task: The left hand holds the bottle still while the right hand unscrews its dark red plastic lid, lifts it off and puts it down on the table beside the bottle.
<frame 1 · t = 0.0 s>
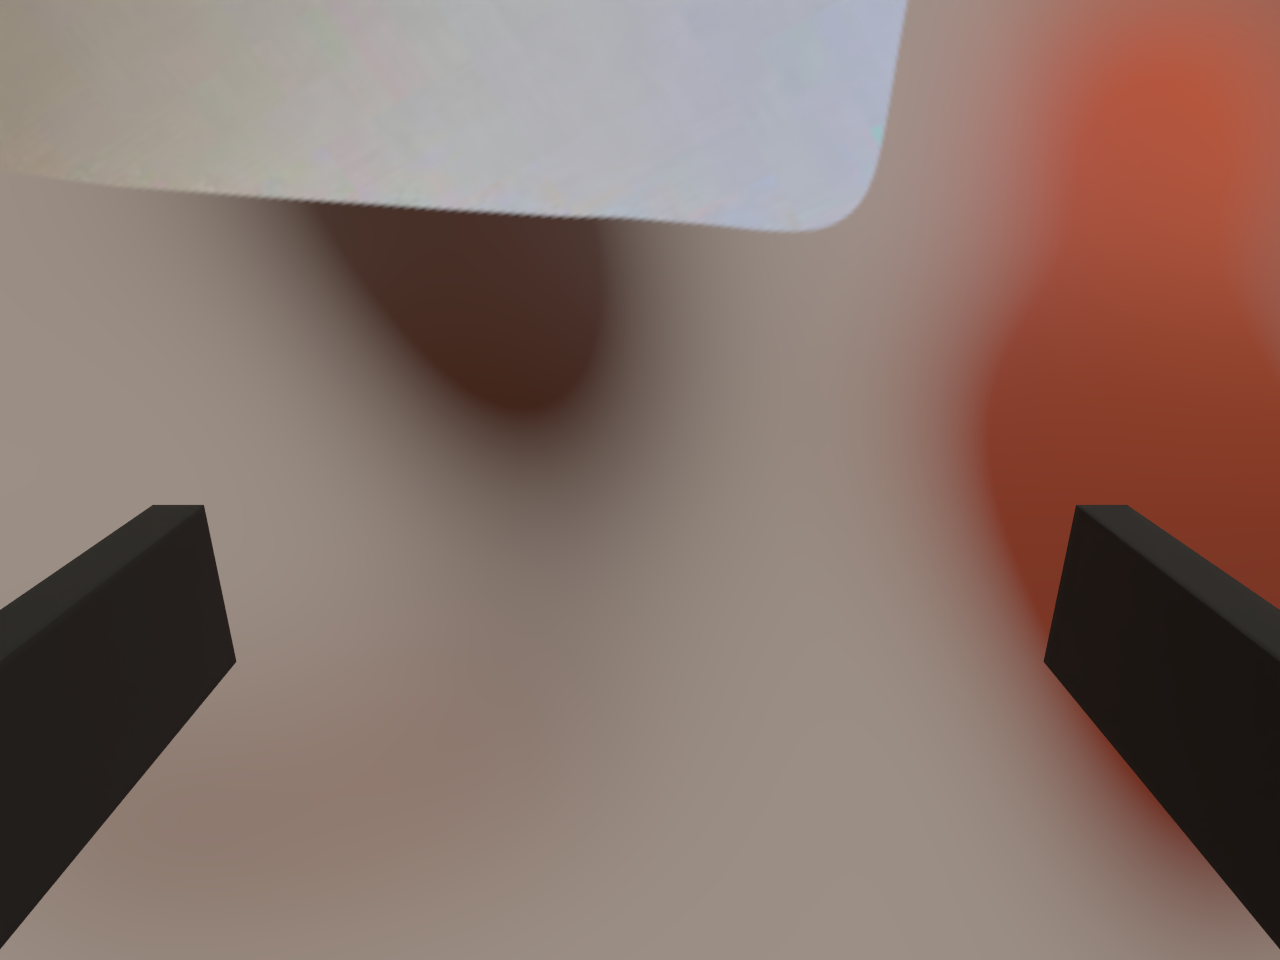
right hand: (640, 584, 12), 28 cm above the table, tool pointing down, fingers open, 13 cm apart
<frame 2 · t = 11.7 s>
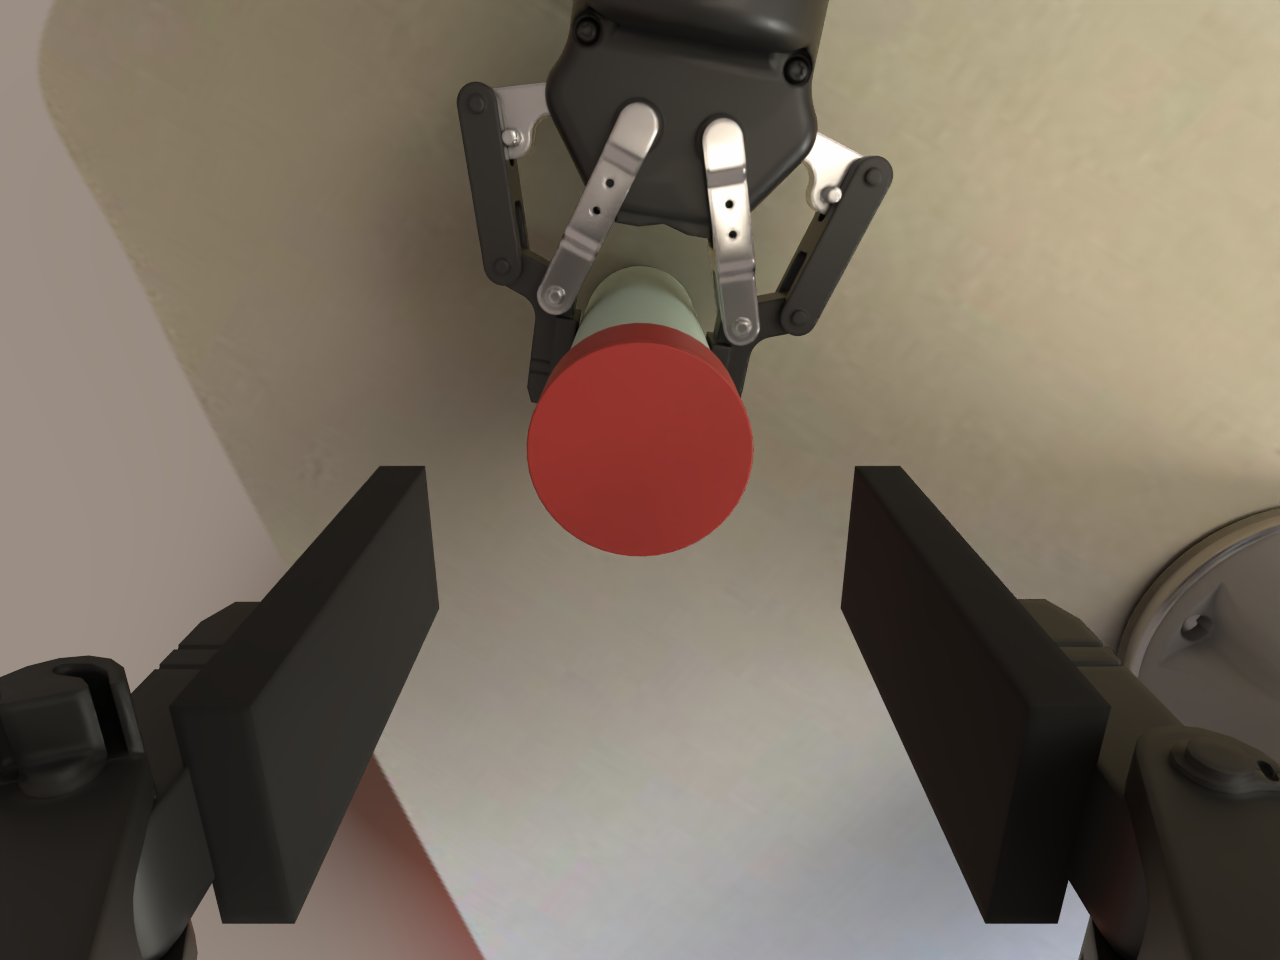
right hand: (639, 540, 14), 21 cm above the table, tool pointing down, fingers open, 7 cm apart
left hand: (628, 426, 29), fingers closed on bottle, 4 cm apart
bottle: (640, 321, 34), on the table, touching left hand
lid: (640, 449, 19), point 17 cm above the table, screwed on, not yet turned
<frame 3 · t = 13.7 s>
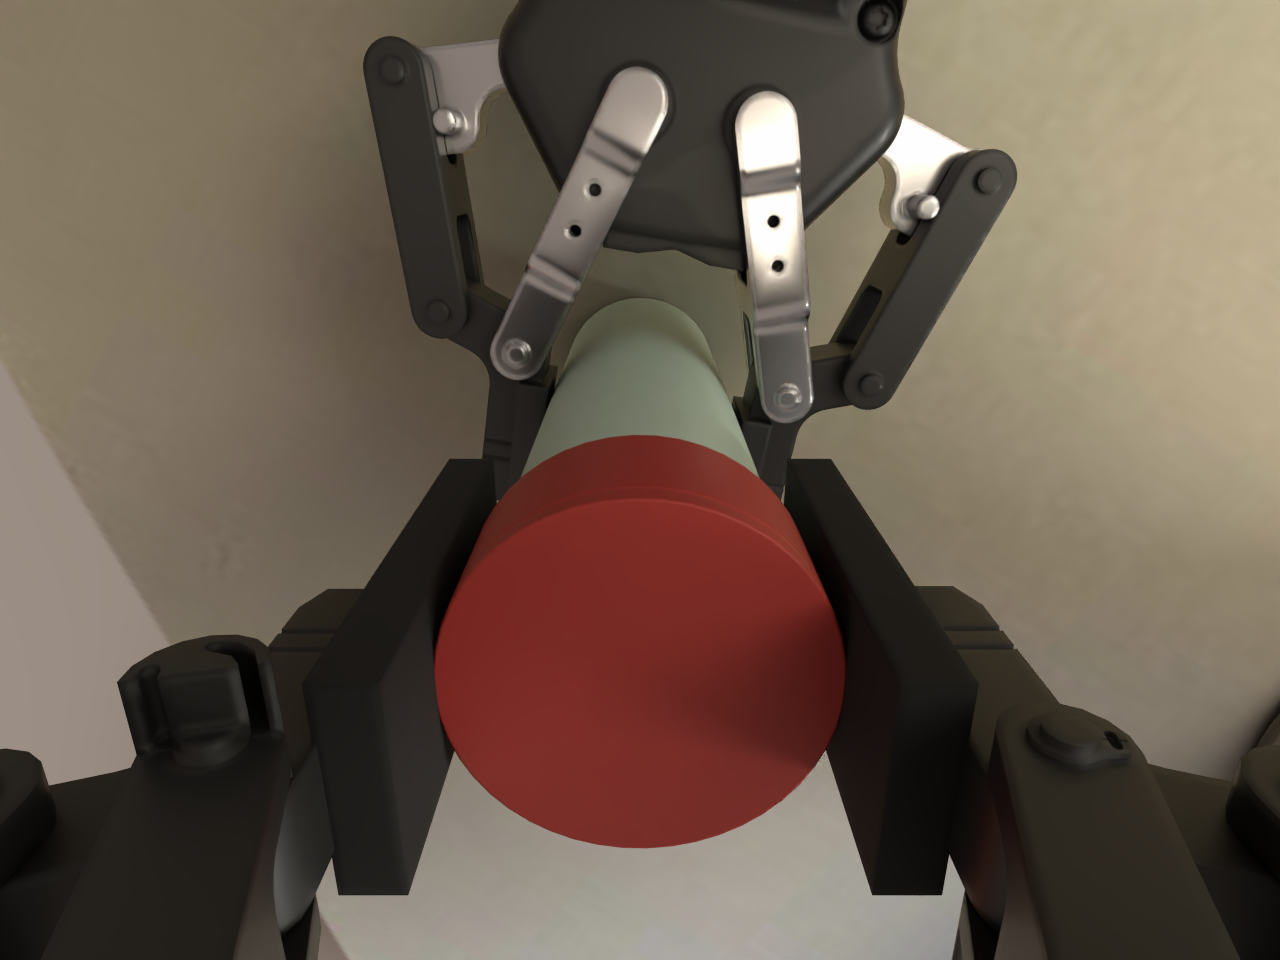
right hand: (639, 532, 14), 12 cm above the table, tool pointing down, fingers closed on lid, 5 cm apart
left hand: (624, 527, 21), fingers closed on bottle, 4 cm apart
bottle: (640, 370, 26), on the table, touching left hand
lid: (639, 673, 10), point 17 cm above the table, screwed on, not yet turned, touching right hand
when the right hand's fingers open (13 cm above the table, at t = 15.0 s): lid stays where it is, point 17 cm above the table.
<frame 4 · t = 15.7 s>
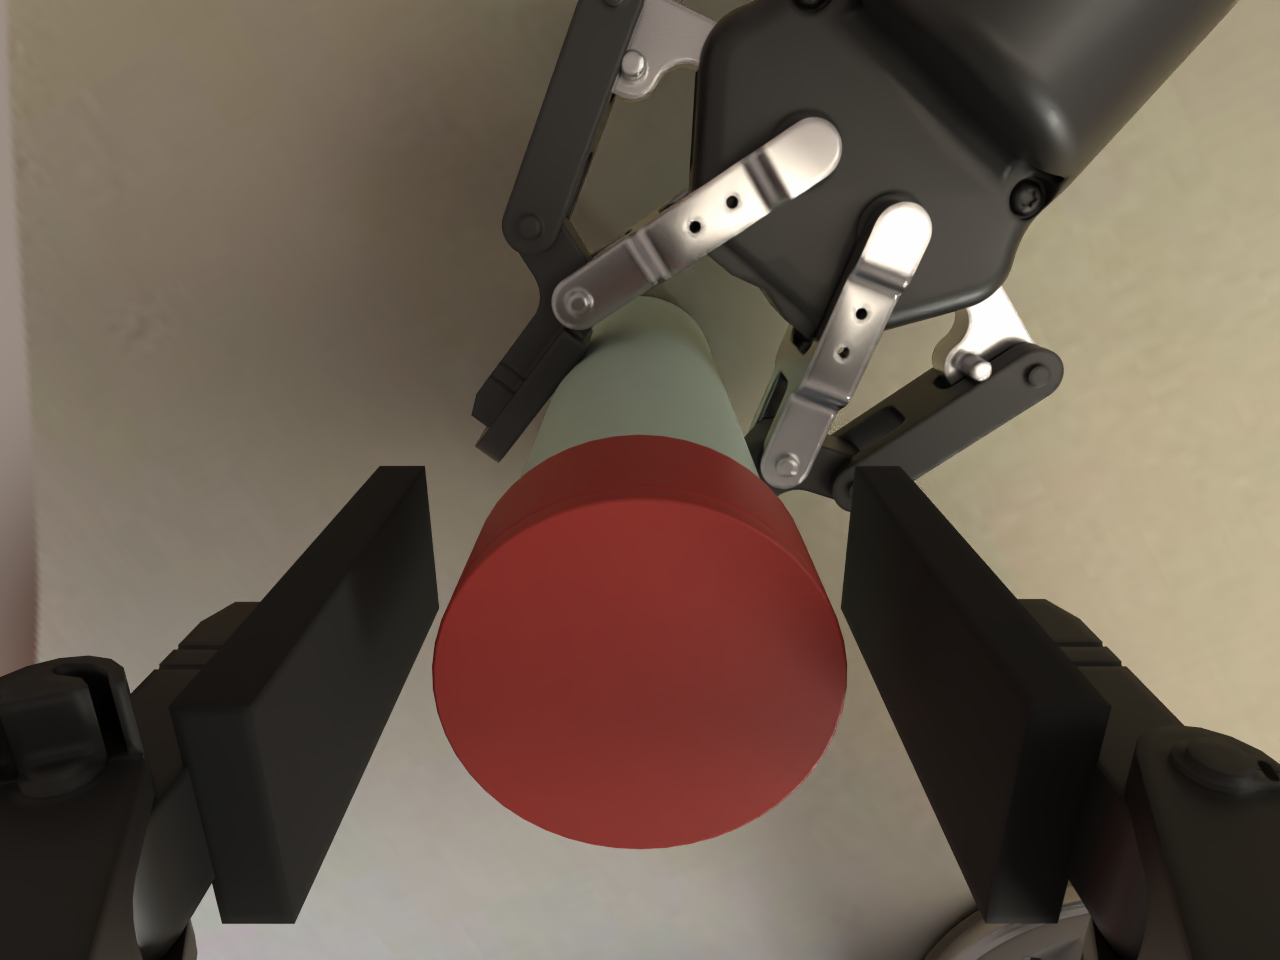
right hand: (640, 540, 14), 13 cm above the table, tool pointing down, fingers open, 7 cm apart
left hand: (577, 503, 21), fingers closed on bottle, 4 cm apart
bottle: (640, 367, 26), on the table, touching left hand
lid: (639, 673, 10), point 17 cm above the table, turned 102° so far, risen 0.3 cm, still on its thread
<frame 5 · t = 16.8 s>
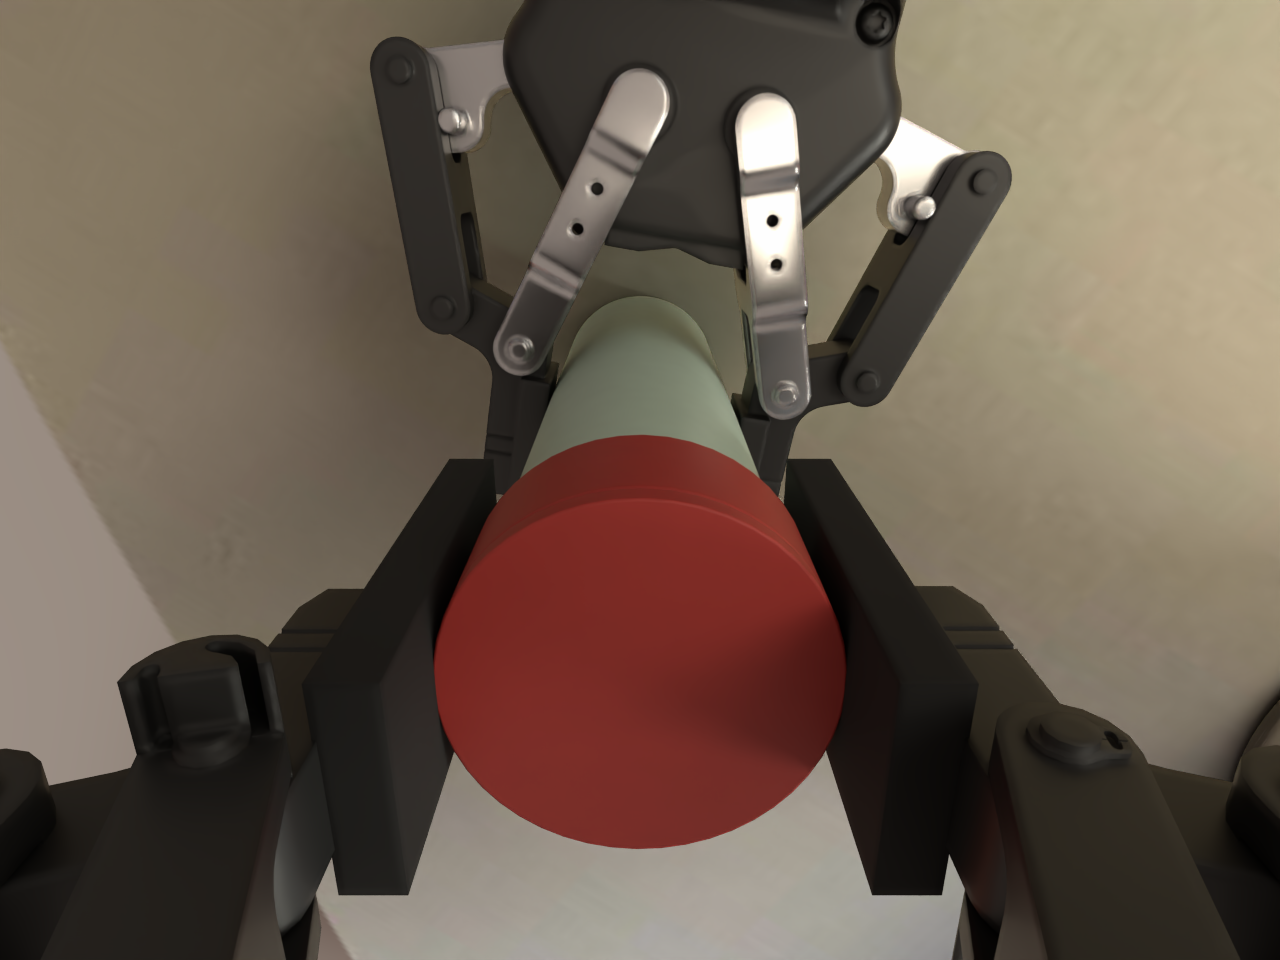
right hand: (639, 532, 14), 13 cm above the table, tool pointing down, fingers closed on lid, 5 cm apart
left hand: (623, 521, 21), fingers closed on bottle, 4 cm apart
bottle: (640, 367, 26), on the table, touching left hand
lid: (639, 673, 10), point 17 cm above the table, turned 102° so far, risen 0.3 cm, still on its thread, touching right hand
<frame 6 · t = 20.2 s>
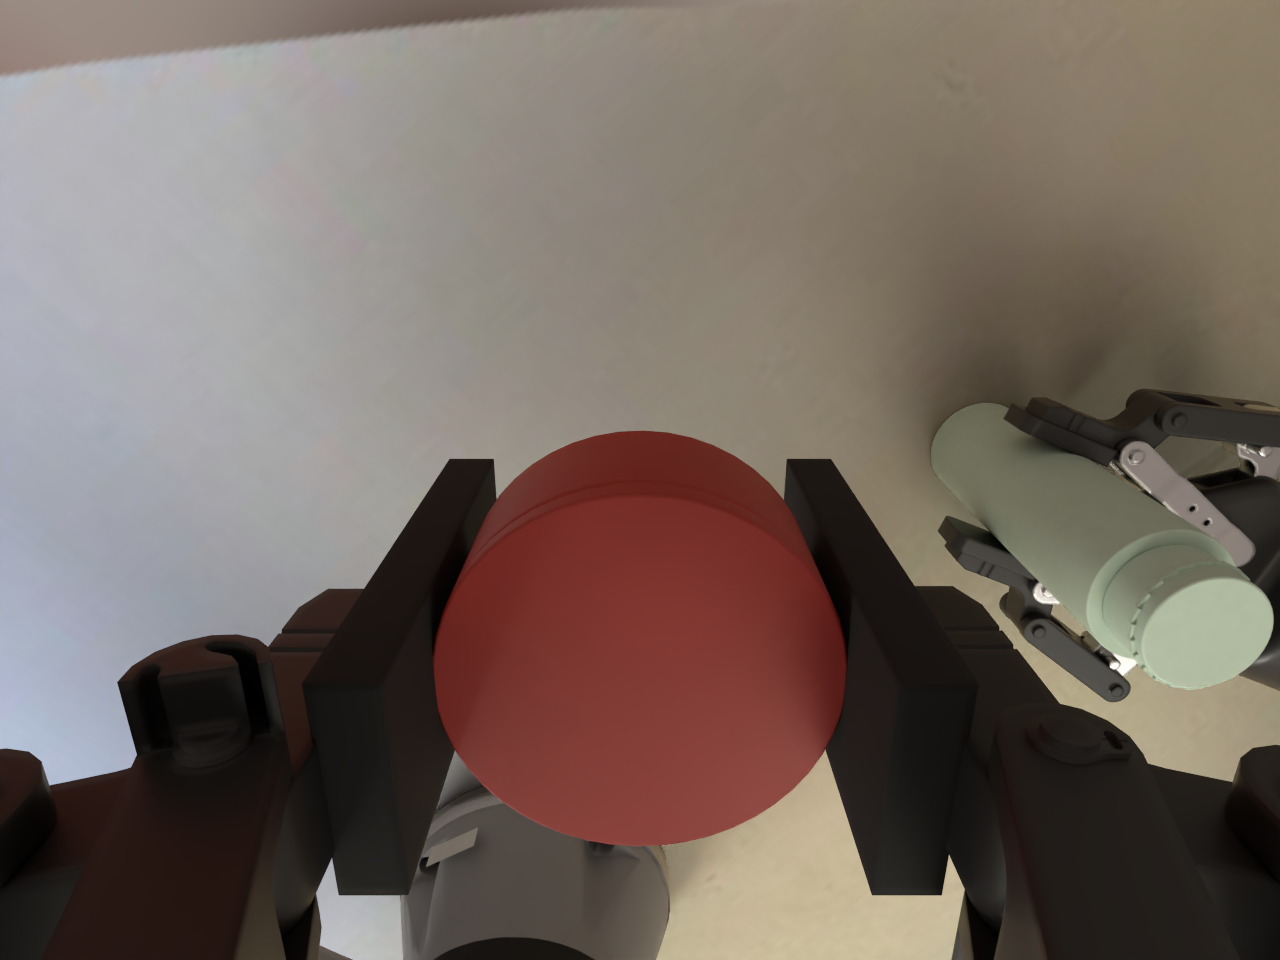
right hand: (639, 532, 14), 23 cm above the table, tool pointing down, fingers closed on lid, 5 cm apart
left hand: (982, 476, 32), fingers closed on bottle, 4 cm apart
bottle: (978, 449, 38), on the table, touching left hand
lid: (639, 670, 10), point 28 cm above the table, off its thread, touching right hand
when the right hand's fingers open (0 cm above the table, at t = 23.4 s): lid drops 2 cm, point 2 cm above the table.
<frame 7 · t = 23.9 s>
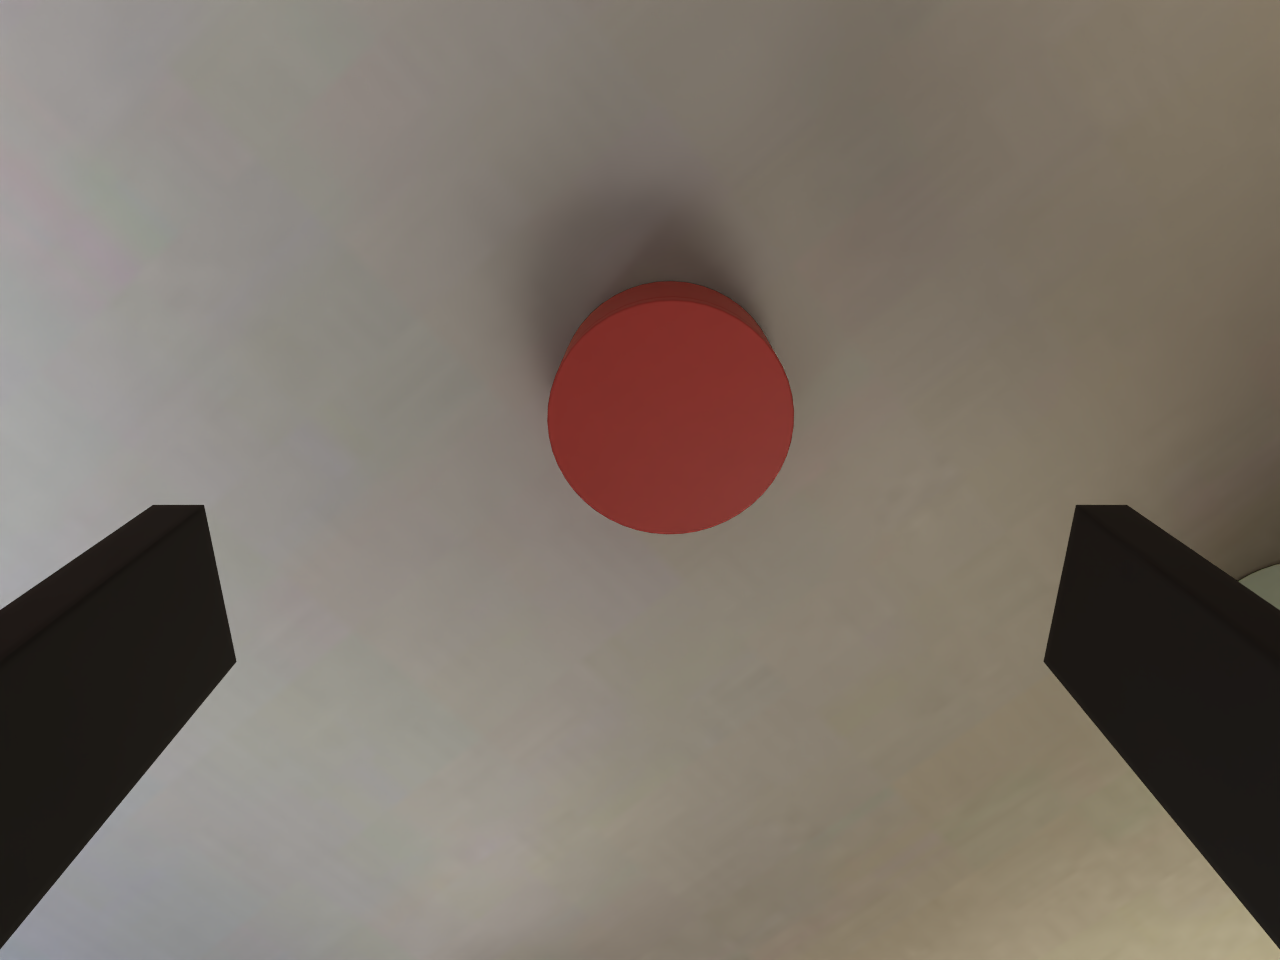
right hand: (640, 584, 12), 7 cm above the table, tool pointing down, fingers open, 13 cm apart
bottle: (1279, 637, 21), on the table, touching left hand
lid: (670, 418, 17), point 2 cm above the table, off its thread
when the left hand's fingers open (6 cm above the table, at t = 24.0 s): bottle stays where it is, on the table.
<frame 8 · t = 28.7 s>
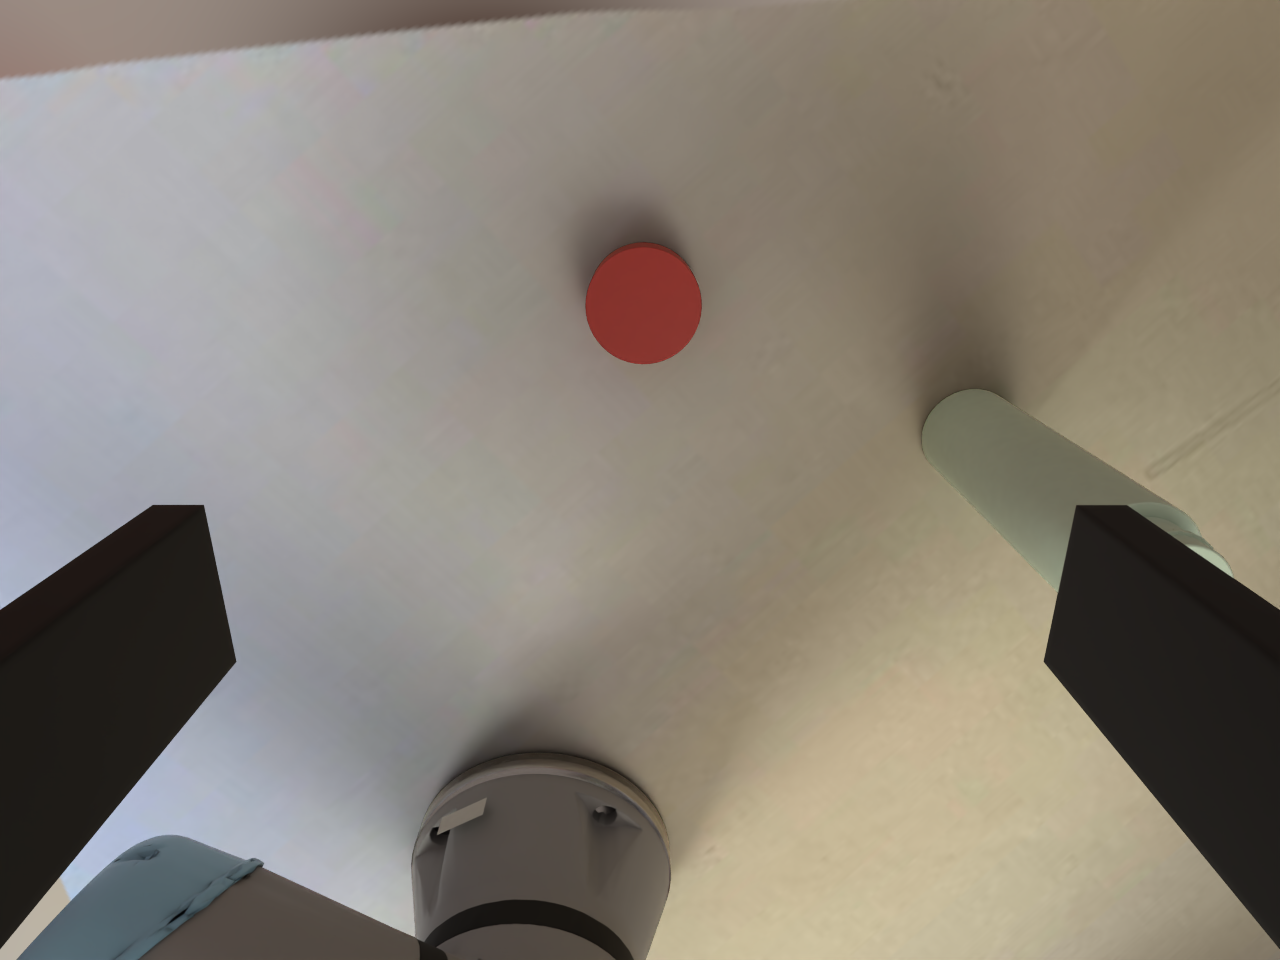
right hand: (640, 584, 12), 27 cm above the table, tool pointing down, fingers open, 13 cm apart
bottle: (967, 433, 40), on the table
lid: (643, 305, 36), point 2 cm above the table, off its thread
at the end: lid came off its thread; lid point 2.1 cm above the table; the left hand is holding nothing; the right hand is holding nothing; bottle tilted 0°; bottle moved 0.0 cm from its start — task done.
